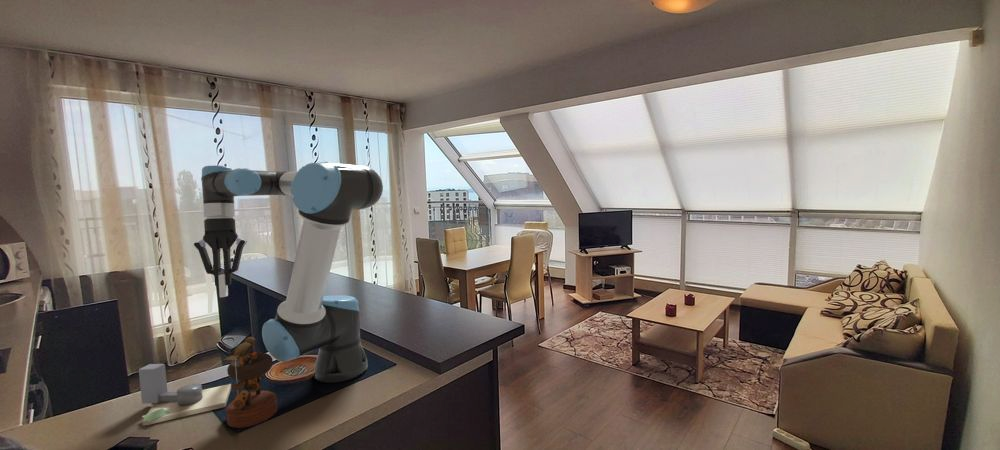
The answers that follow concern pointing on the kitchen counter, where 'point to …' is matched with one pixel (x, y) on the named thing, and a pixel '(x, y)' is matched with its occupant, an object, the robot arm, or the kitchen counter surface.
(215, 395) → the board
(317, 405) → the kitchen counter surface
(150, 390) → the grey block with ball
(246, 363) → the music box
